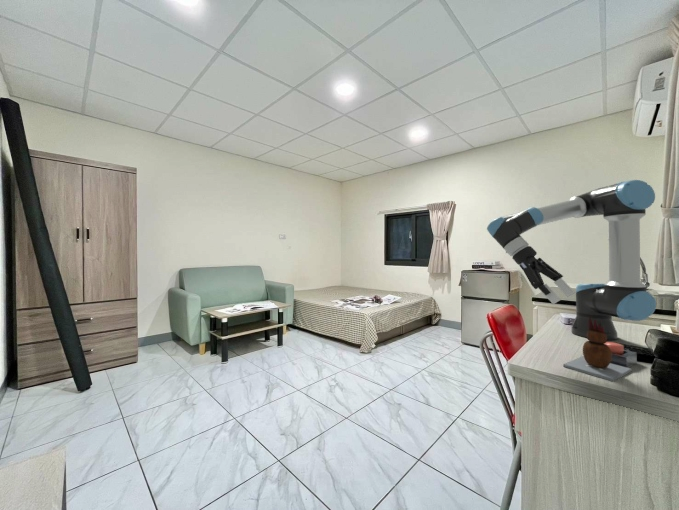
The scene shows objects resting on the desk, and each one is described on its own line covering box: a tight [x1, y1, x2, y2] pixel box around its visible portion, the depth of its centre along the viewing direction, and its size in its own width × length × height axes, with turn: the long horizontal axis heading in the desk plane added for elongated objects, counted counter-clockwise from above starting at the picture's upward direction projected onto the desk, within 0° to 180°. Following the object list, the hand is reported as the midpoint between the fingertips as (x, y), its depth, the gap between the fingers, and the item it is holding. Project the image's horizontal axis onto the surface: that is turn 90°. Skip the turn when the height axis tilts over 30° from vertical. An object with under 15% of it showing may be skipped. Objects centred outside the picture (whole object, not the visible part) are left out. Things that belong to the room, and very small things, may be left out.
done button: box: [604, 341, 625, 355], centre depth 94 cm, size 5×5×3 cm
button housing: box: [610, 349, 638, 368], centre depth 94 cm, size 9×9×4 cm
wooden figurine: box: [582, 318, 612, 368], centre depth 88 cm, size 7×6×15 cm
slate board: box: [562, 355, 632, 382], centre depth 88 cm, size 14×12×1 cm
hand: (564, 298), depth 96 cm, fingers open, 13 cm apart
